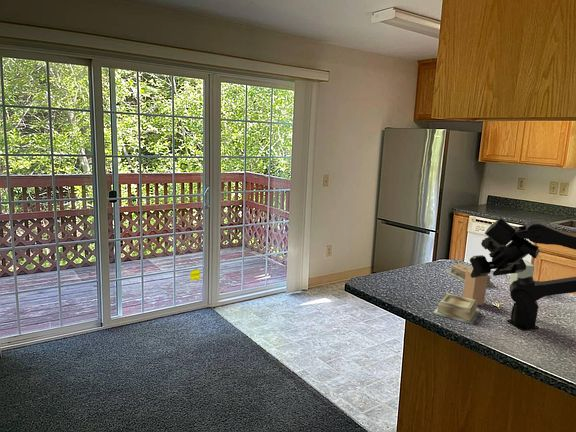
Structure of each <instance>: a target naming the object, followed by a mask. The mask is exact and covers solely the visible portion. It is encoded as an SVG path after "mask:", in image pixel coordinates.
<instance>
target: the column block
mask: <svg viewBox="0 0 576 432" xmlns="http://www.w3.org/2000/svg"><path fill="white" fill-rule="evenodd" d="M472 271H473V270H466V274H465V281H464V282H463V290H462V296H461V297H465V298H470V299H474V300H476V303H477V306H483V305H485V297H486V291H487V286H486V285H487V278H488V275H489V274H487V276H481V277H475V278H472V277H471V273H472Z"/></svg>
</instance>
